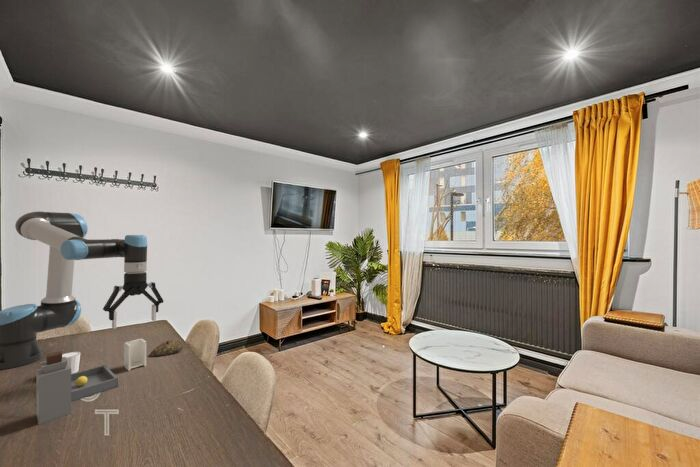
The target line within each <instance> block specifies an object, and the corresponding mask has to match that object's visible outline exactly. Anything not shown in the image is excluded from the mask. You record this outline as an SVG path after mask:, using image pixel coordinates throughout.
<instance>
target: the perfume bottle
mask: <svg viewBox="0 0 700 467" xmlns="http://www.w3.org/2000/svg"><path fill="white" fill-rule="evenodd" d="M62 354H63V353H62V351H60V350H59V351H56V352H52V353H46V354H45V360H44V361H40V363H39V364H40V366H41V368H40V369H39V368H38V369H36V385H35V387H36V388H35V390H36V392H35V393H36V396H35V397H36V398H35V402H36V403H35V404H36V405H35V413H36V414H35V416H36V419H37V424H38V425H42V424H45V423H48V422H51V421H54V420H56V419H60V418H62V417H66V416H68V415H71V414H72V402H71V367H70V366H69V364H68V363H67V362H68V360H67V359H66V357H62Z"/></svg>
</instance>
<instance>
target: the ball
mask: <svg viewBox="0 0 700 467" xmlns="http://www.w3.org/2000/svg"><path fill="white" fill-rule="evenodd" d="M87 380H88V379H87V377H85V376H81V377H79V378H77V380H76V381H75V384H76V385H77V386H83V385H85V384H86V383H87Z"/></svg>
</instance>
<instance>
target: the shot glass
mask: <svg viewBox="0 0 700 467" xmlns="http://www.w3.org/2000/svg"><path fill="white" fill-rule="evenodd" d="M62 357H66V359H67V360H68V362H67V363H68V364H69V366H70V367H71V374H73V373H76V372H79V368H80V363H81V362H80V359H81V351H71V352H66V353H62Z"/></svg>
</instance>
